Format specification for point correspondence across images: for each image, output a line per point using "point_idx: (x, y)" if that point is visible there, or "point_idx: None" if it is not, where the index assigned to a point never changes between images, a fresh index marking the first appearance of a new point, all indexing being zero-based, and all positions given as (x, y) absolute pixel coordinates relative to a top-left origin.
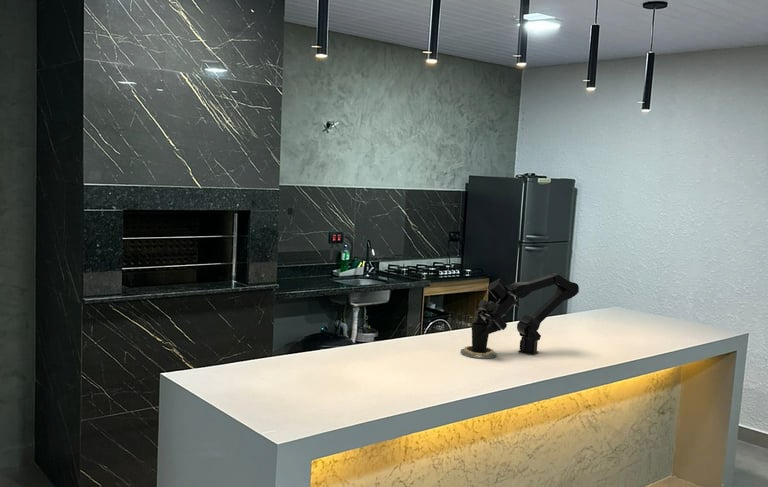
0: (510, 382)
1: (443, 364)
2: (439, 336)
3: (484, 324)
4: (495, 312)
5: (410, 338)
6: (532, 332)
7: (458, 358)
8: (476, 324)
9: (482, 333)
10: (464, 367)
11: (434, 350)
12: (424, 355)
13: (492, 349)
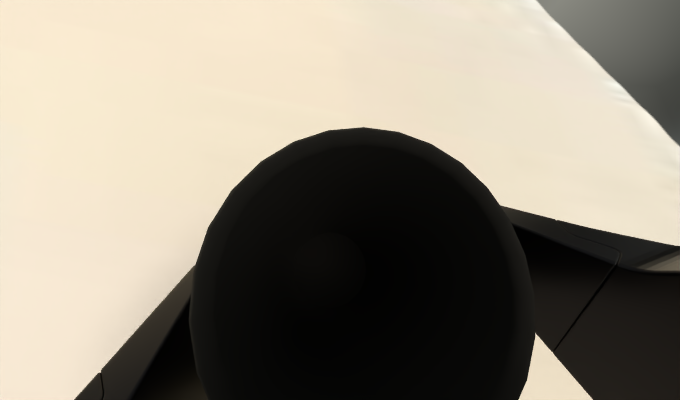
0: None
1: (104, 46)
2: (622, 134)
3: (484, 372)
4: None
5: (537, 17)
6: None
7: (224, 138)
8: (475, 233)
9: (190, 274)
10: (31, 131)
11: (364, 63)
12: (269, 7)
13: None
